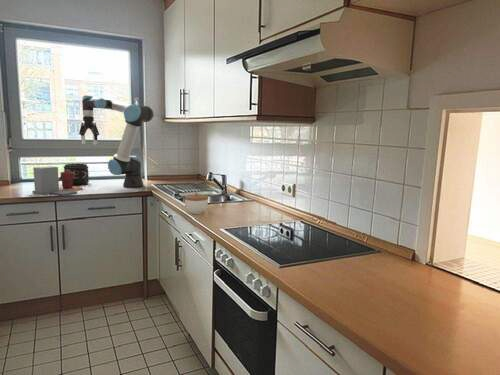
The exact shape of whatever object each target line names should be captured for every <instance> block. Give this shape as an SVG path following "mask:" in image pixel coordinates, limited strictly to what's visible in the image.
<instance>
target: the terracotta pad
mask: <svg viewBox="0 0 500 375" xmlns="http://www.w3.org/2000/svg"><path fill="white" fill-rule="evenodd" d="M59 190H61V191H64V190H70V191H76V192H78V191H83V190H84V189H83V187H81V186H72V188H66V189H63V186H59Z"/></svg>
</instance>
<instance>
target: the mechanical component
mask: <svg viewBox="0 0 500 375" xmlns="http://www.w3.org/2000/svg"><path fill="white" fill-rule="evenodd" d="M59 175H60V176H58V179H59V180H61V185H62V186H61V187H63V189H66V188H72V186H73V179H75V176H74V172H70V171H64V170H63V171H61V172H60V174H59Z"/></svg>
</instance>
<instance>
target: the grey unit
mask: <svg viewBox="0 0 500 375" xmlns="http://www.w3.org/2000/svg"><path fill="white" fill-rule="evenodd" d="M32 169H33V184H34V190H32V191H31V193H32V194H36V195H39V196H40V195H42V196H50V195H52V192H57V191H61V190H59V187H60V185H59V184H60V181H59V180H60V179H59V167H58V166H54V165H53V166H51V165H49V166H37V167H32Z"/></svg>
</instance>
